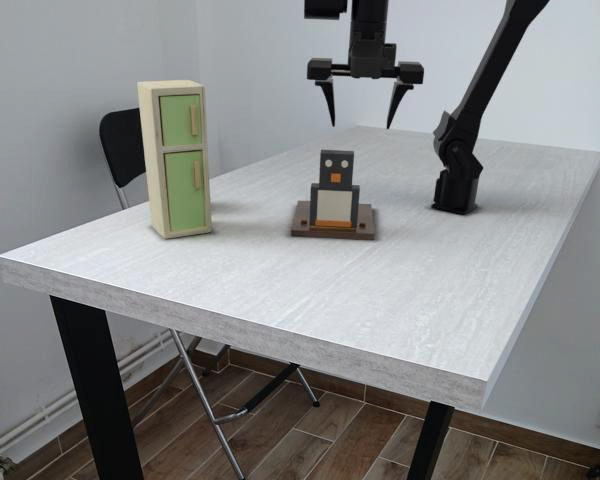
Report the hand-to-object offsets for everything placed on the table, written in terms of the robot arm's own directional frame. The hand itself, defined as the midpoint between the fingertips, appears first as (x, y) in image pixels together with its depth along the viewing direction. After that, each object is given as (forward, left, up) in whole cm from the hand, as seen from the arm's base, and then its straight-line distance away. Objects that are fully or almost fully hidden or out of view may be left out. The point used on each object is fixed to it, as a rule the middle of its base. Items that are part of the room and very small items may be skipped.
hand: (360, 127), depth 109 cm
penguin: (-5, +15, -6) cm, 17 cm away
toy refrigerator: (+13, +31, -13) cm, 36 cm away
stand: (-3, +11, -13) cm, 18 cm away
